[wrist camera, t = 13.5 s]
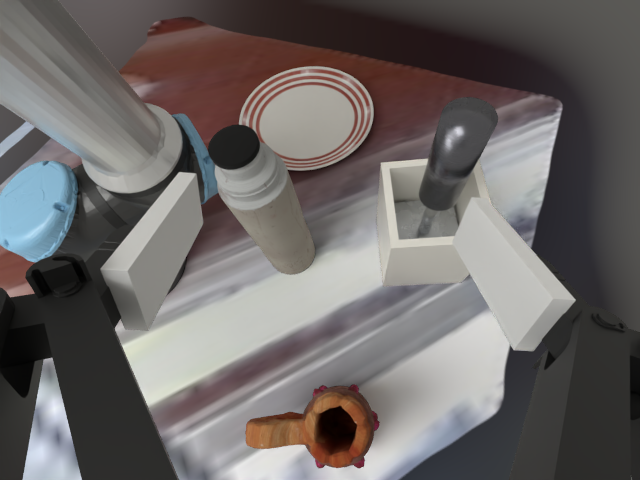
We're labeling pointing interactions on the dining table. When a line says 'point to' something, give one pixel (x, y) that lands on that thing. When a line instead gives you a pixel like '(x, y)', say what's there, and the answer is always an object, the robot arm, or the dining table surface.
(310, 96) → the dinner plate
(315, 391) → the mug
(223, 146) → the thermos bottle
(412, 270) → the white open box
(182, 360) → the dining table surface
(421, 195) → the plunger
